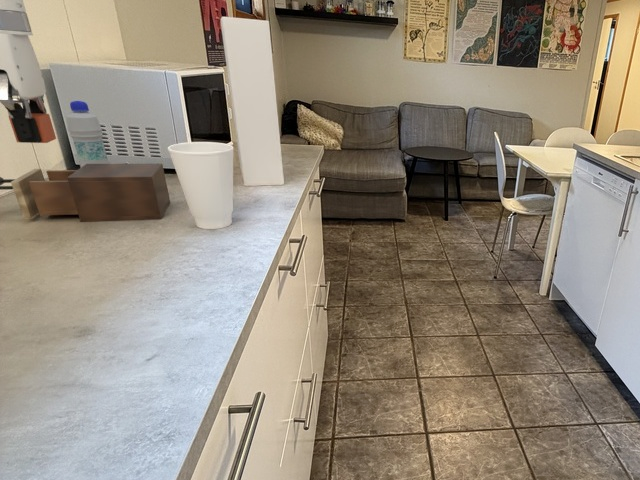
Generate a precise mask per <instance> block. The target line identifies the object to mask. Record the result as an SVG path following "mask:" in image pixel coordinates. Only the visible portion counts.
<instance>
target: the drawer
mask: <svg viewBox="0 0 640 480" xmlns="http://www.w3.org/2000/svg"><path fill="white" fill-rule="evenodd" d="M77 170H78V169H67V170H66V169H65V170H63V169H61V170H59V169H56V170H55V169H53V170H49V169H48V170H46V175H47V178H48V180H46V179H45V176H44V174H43V173H44V172H43V171H42V168H33V169H31V170H30V171H28V172H26V173H24V174H23V175H20V176H19V177H16V178H3V177H1V176H0V190H1V191H4V190H7V191H8V190H13V192H14V195H15V199H16V200H17V203H18V206H19V209H20V211H21V214H22V217H23V219H32V218H33V217H35V216H36V215H38V214H39V216H65V215H66V216H68V215H69V216H70V215H78V212H77V209H76V205H75V202H74V199H73V195H72V192H71V189H70V186H69V182H68V179H67V177H68V176H70V175H71V174H73V173H74V172H76V171H77ZM6 183H7V184H10V185H4V184H6Z"/></svg>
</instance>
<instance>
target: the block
mask: <svg viewBox="0 0 640 480" xmlns="http://www.w3.org/2000/svg"><path fill="white" fill-rule="evenodd" d="M31 116H32V118H35V120H36V124H37V127H38V130H39V133H40V137H41V140H42V141H41V142H40V143H39V144H48V143H50V142H52V141H54V140H57V136H56V132H55V129H54V126H53V123H52V119H51V116H50V113H47V114H41V113H31ZM7 117H8V121H9V123H10V125H11V129H12V131H13V134H14V137H15V140H16V143H21V144H22V143H23V144H24V143H26V142H19V141H18V138H17V135H16V132H15V129H14V126H13V123H12V120H11V118H10V117H9V115H7ZM26 144H27V143H26Z"/></svg>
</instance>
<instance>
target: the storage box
mask: <svg viewBox="0 0 640 480" xmlns="http://www.w3.org/2000/svg"><path fill="white" fill-rule="evenodd" d="M219 22H220V28H221V29H220V30H221V35H222V43H223V50H224V58H225V65H226V72H227V80H228V86H229V94H230V101H231V109H232V110H231V111H232V117H233V123H234V131H235V139H236V147H237V154H238V161H239V168H240V173H241V177H242V181H243V185H244V187H257V186H258V187H261V186H282V185H283V186H284V185H285V177H284V169H283V167H284V166H283V157H282V148H281V147H282V146H281V135H280V125H279V115H278V114H279V113H278V102H277V94H276V93H277V92H276V81H275V72H274V71H275V70H274V62H273V61H274V59H273V51H272V40H271V29H270V28H271V27H270V21H269V20H264V19H263V20H262V19H255V18H252V19H251V18H244V17H243V18H241V17H232V16H221V18H220V21H219Z"/></svg>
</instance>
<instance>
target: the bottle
mask: <svg viewBox="0 0 640 480" xmlns="http://www.w3.org/2000/svg"><path fill="white" fill-rule="evenodd" d="M69 106H70V109H71V112H70V113H68V114H67V115H66V116H65V118H66V124H67V131H68V133H69V136H70V137H71V139H72V141H73V145H74V149H75V152H76V155H77V158H78V163H79V167H80V168H81V167H83V166H84V165H86V164H110V161H109V160H108V155H107V151H106V148H105V143H104V140H103V137H104V134H103V128H102V126H101V124H100V122H99V119H98V116H97V115H95V114H93V113H92V112H90V109H89V106H88V104H87V102H85V101H82V100H74V101H71V102H70V103H69Z"/></svg>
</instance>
